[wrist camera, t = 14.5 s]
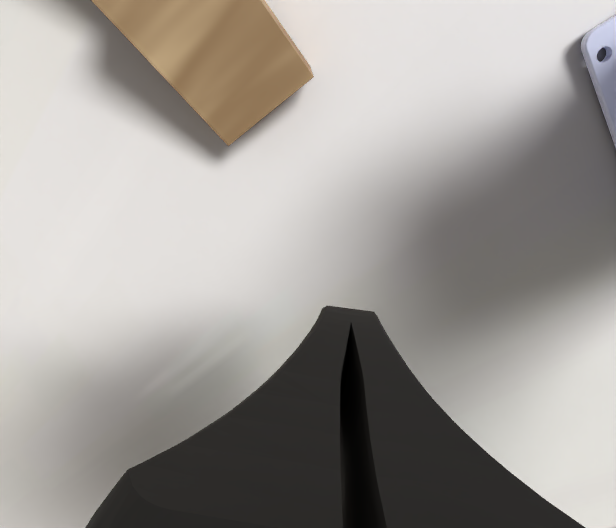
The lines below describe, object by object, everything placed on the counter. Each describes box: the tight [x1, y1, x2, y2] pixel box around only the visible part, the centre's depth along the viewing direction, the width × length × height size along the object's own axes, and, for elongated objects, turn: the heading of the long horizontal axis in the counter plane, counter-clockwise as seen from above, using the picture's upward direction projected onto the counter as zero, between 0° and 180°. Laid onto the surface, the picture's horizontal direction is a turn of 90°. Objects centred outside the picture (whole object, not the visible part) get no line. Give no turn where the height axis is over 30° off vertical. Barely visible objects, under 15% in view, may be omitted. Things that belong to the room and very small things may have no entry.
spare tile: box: [91, 0, 314, 146], centre depth 15 cm, size 2×4×7 cm
